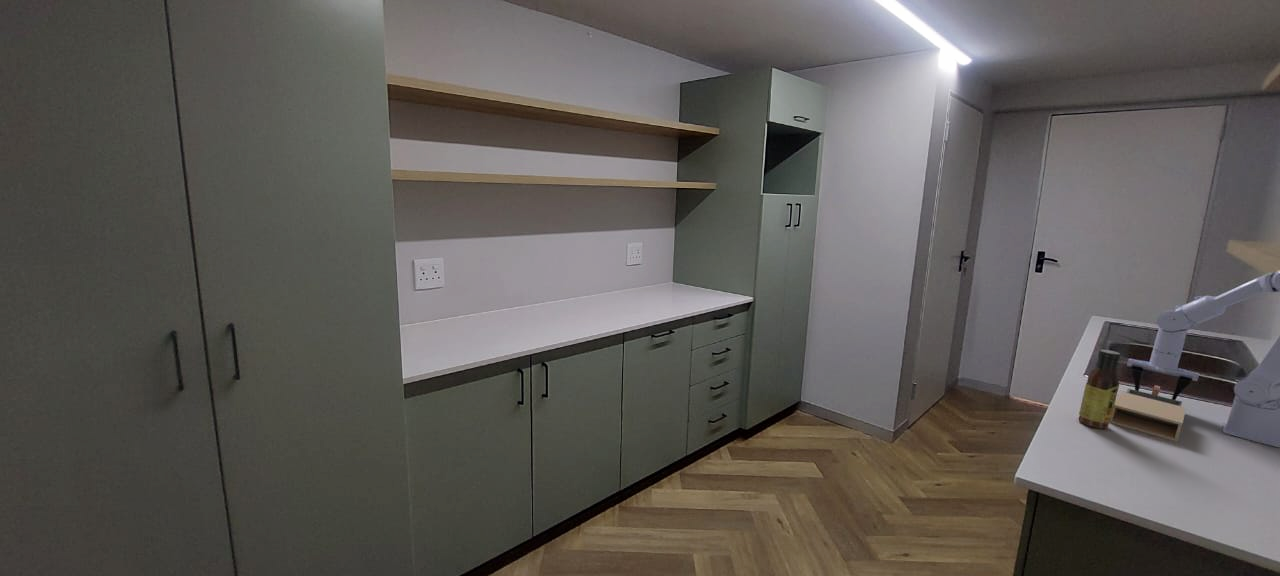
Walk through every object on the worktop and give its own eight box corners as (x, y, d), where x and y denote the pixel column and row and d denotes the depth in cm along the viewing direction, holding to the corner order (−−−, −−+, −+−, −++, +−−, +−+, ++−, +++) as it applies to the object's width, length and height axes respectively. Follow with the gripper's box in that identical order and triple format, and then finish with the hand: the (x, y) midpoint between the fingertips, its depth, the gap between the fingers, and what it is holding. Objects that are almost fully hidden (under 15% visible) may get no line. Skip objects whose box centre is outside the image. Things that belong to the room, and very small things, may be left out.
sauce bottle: (1109, 432, 132) (1128, 358, 128) (1077, 424, 136) (1095, 352, 132) (1107, 423, 138) (1125, 352, 133) (1076, 416, 141) (1093, 346, 137)
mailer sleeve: (1177, 441, 129) (1182, 423, 128) (1108, 422, 139) (1112, 404, 138) (1181, 425, 139) (1186, 407, 138) (1116, 407, 148) (1120, 391, 147)
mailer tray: (1175, 426, 136) (1180, 410, 135) (1118, 411, 144) (1122, 396, 143) (1180, 406, 149) (1184, 392, 148) (1128, 393, 157) (1131, 379, 156)
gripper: (1130, 347, 151) (1119, 391, 154) (1203, 361, 141) (1189, 408, 144) (1133, 343, 156) (1122, 385, 159) (1203, 356, 146) (1190, 402, 148)
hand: (1154, 396), depth 152 cm, fingers open, 7 cm apart
